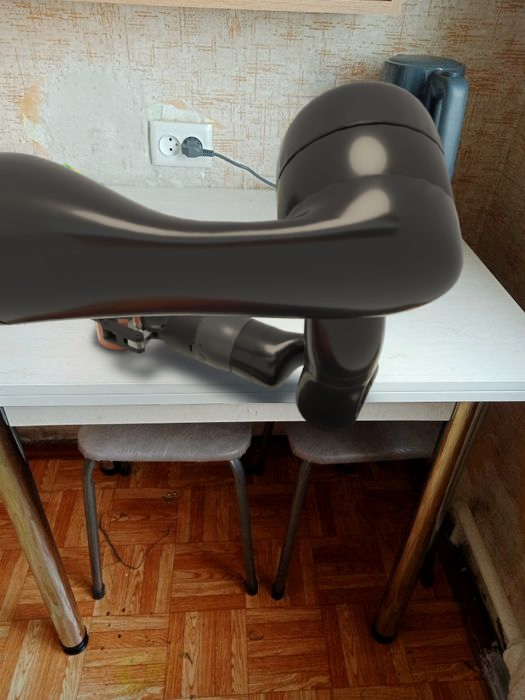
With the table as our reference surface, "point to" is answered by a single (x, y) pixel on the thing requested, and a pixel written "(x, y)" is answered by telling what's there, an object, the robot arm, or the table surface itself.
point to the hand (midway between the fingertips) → (112, 292)
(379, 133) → the robot arm
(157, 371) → the table surface
